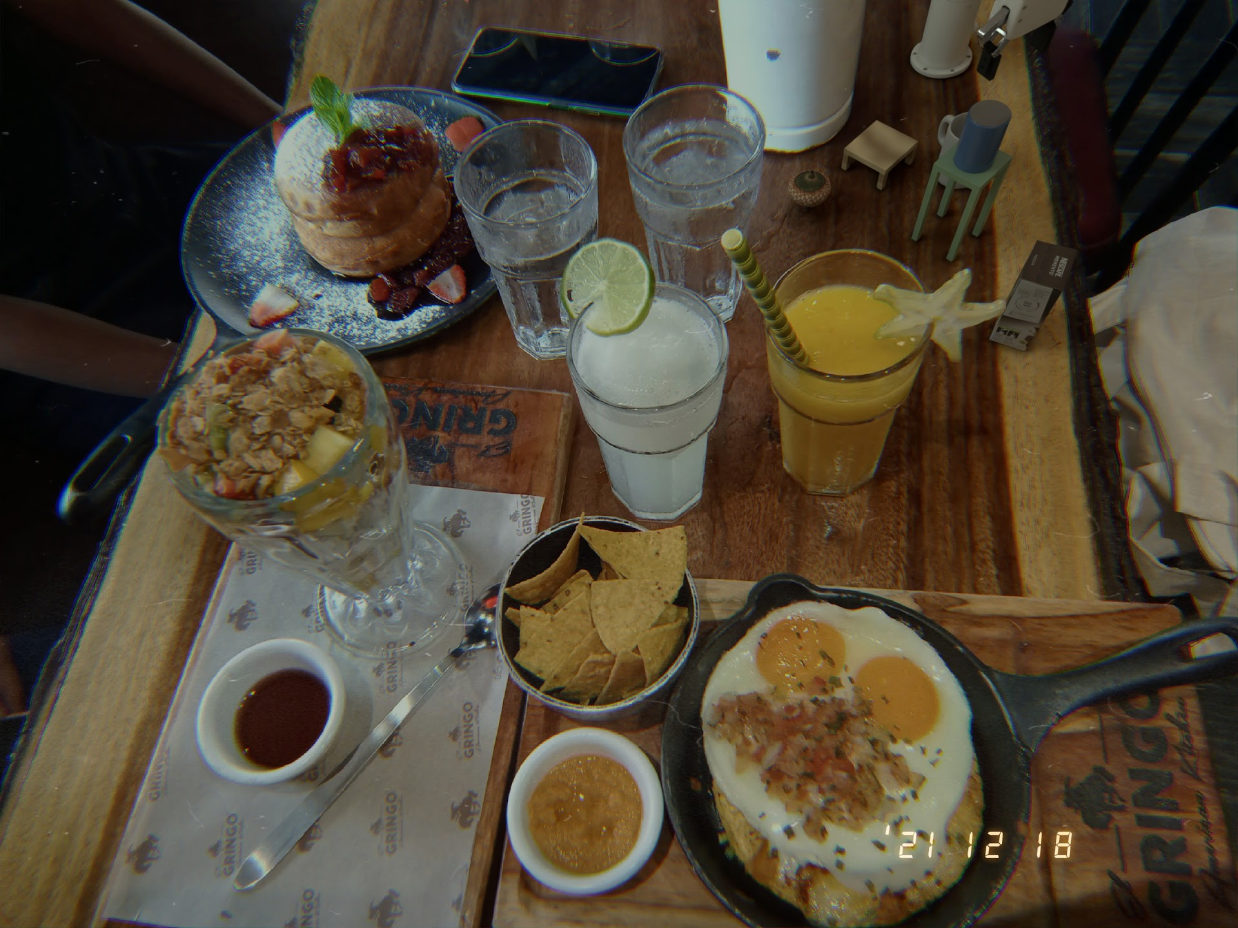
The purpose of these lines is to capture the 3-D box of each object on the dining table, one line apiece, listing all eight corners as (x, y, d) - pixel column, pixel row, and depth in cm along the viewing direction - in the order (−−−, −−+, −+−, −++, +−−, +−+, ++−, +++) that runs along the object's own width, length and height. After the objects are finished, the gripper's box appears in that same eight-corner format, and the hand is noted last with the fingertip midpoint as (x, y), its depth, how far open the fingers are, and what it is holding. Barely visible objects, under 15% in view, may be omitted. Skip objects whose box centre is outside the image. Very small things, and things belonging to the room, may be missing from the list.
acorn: (797, 231, 145) (801, 192, 136) (778, 204, 148) (781, 164, 140) (835, 215, 145) (842, 176, 136) (815, 189, 149) (820, 149, 140)
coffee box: (1026, 352, 126) (1063, 292, 112) (987, 340, 128) (1019, 279, 114) (1042, 313, 129) (1080, 249, 114) (1004, 301, 131) (1037, 237, 117)
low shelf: (872, 140, 152) (876, 120, 148) (912, 161, 148) (918, 141, 144) (841, 168, 150) (844, 148, 146) (881, 190, 146) (885, 170, 142)
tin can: (968, 141, 125) (984, 93, 117) (1001, 157, 122) (1020, 110, 114) (945, 162, 124) (960, 116, 116) (978, 179, 121) (995, 133, 113)
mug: (989, 178, 144) (1007, 131, 134) (951, 195, 143) (967, 150, 133) (952, 142, 149) (967, 94, 139) (915, 158, 149) (928, 112, 139)
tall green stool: (940, 211, 142) (966, 133, 126) (981, 233, 138) (1013, 156, 122) (911, 238, 140) (933, 163, 124) (951, 262, 136) (980, 187, 120)
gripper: (1087, -99, 97) (1039, 25, 113) (980, -45, 96) (947, 73, 111) (1131, -75, 94) (1076, 50, 109) (1021, -19, 92) (981, 100, 108)
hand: (1011, 62), depth 110 cm, fingers open, 9 cm apart
